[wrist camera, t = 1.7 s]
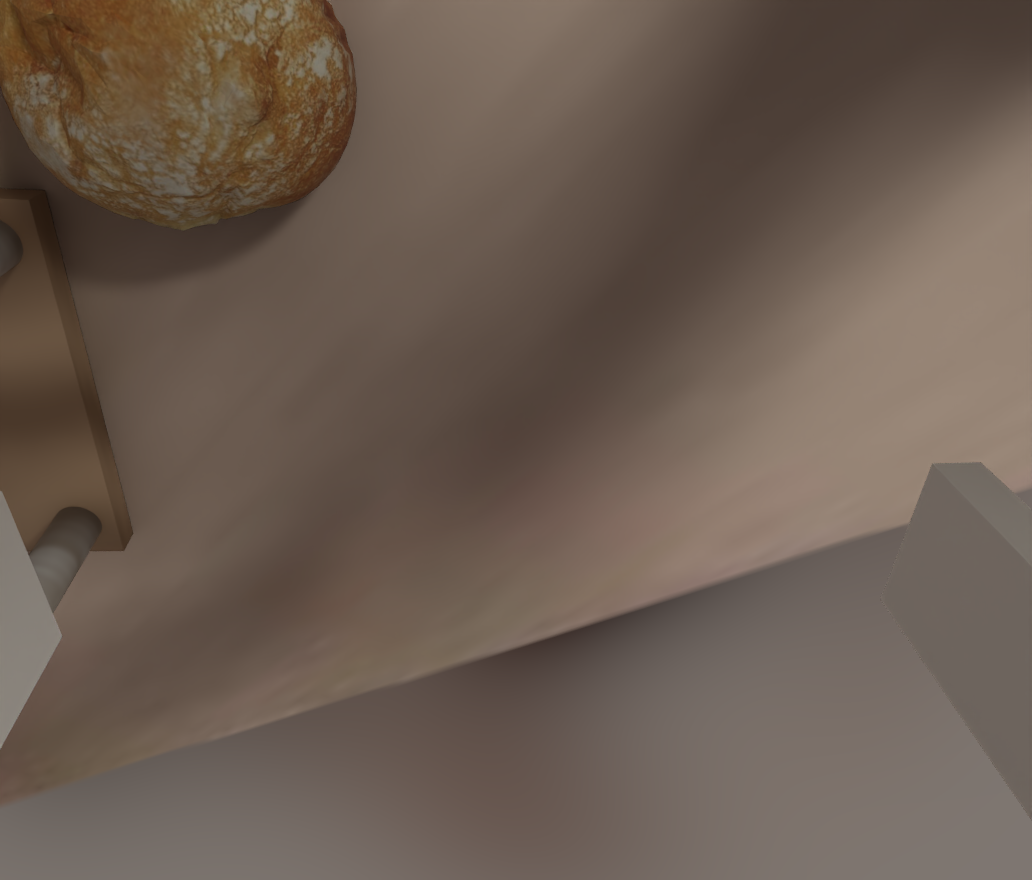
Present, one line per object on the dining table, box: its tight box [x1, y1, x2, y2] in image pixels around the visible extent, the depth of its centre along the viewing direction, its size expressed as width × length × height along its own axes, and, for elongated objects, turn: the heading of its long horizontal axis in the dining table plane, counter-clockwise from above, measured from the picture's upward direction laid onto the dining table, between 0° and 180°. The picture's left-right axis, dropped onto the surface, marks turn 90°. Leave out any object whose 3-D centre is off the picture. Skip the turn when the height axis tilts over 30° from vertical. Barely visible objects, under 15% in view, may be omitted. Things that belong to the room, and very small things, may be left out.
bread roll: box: [0, 0, 357, 231], centre depth 23 cm, size 10×10×8 cm
